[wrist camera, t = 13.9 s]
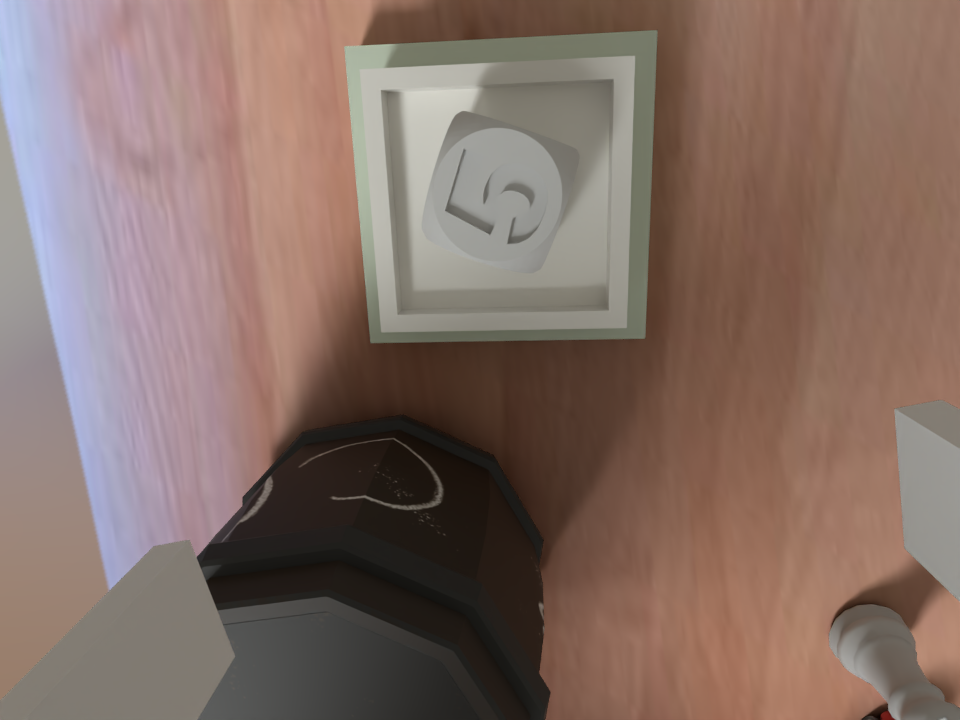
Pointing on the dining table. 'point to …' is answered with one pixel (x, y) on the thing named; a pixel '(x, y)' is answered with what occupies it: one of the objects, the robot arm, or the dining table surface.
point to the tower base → (531, 106)
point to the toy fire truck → (885, 716)
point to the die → (498, 193)
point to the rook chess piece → (888, 662)
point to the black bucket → (379, 583)
